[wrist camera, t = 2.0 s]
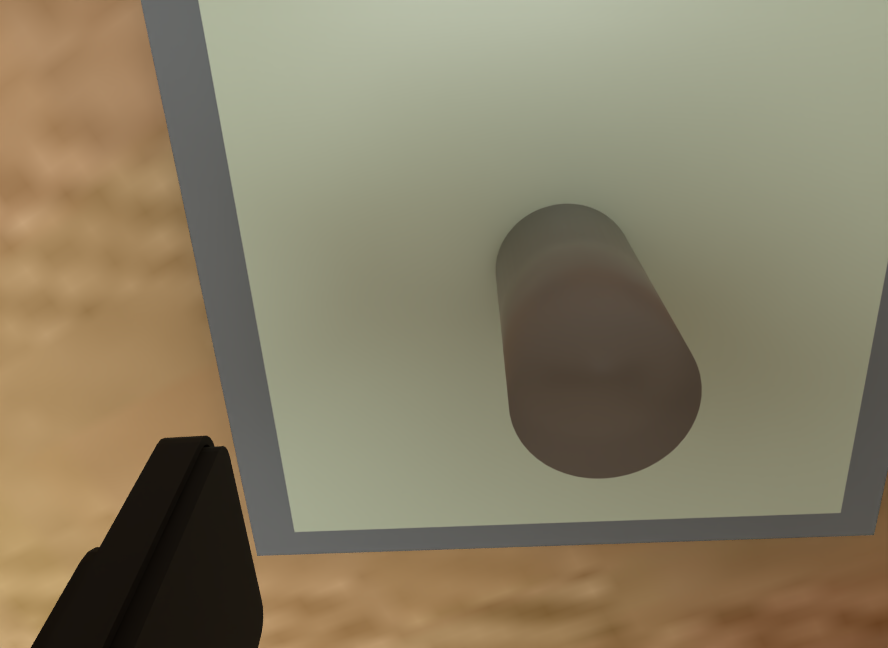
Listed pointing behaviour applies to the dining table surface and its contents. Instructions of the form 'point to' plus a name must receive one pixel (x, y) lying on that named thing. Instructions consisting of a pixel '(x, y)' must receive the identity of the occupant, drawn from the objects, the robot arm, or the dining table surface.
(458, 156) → the cover board
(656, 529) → the rubber mat
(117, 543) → the robot arm
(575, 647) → the dining table surface
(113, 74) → the dining table surface
